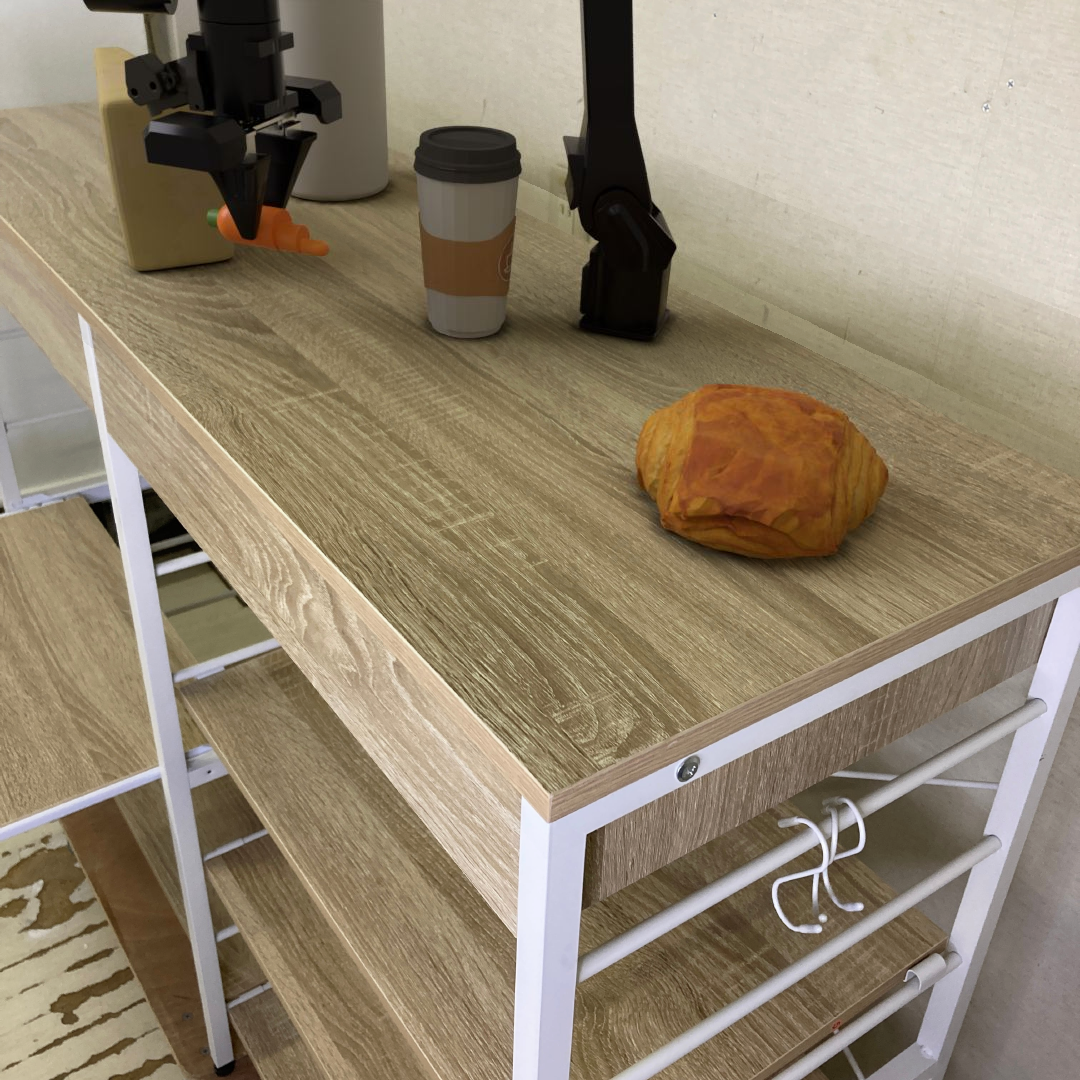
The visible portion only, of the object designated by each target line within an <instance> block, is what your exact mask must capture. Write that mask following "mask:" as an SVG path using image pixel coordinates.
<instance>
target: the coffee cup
mask: <svg viewBox="0 0 1080 1080" xmlns="http://www.w3.org/2000/svg"><path fill="white" fill-rule="evenodd" d="M418 141H419V142H418V146H417V147H416V148H415V149H414V152H413V153H414V162H413V165H412V168H413V170H414V171H415V175H416V186H417V187H416V188H417V197H418V213H417V214H418V225H419V234H420V247H421V258H422V259H421V260H422V273H423V284H424V286H423V287H424V288H425V297H426V310H427V319H428V320H429V322H430V323H431V326H432V328H433V329H434V330H435V331H436V332H438V333H440V334H443V335H445V336H448V337H454V338H457V339H458V338H460V339H477V338H484V337H485V338H486V337H489V336H490V335H494V334H495V333H497V332H498V331H500V329H501V328H502V325H503V323H504V322H505V320H506V314H507V313H506V312H507V304H508V303H507V302H508V301H507V300H508V294H509V290H510V283H511V273H512V264H513V263H512V262H513V253H514V241H515V232H516V223H517V215H516V210H517V202H518V201H517V200H518V191H519V179H520V175H522V171H523V168H522V163H521V160H522V153H521V152H520V149H518V147H517V146H518V145H517V138H516V137H515V135H514V134H512V133H510V132H508V131H505V130H502V129H498V128H494V127H488V126H479V125H447V126H444V125H443V126H438V127H432V128H430V129H427V130H424V131H423V132H421V133H420V135H419V140H418Z"/></svg>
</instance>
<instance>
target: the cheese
mask: <svg viewBox="0 0 1080 1080" xmlns="http://www.w3.org/2000/svg"><path fill="white" fill-rule="evenodd" d="M137 56H138V55H135V54H133V53H131V52H130V51H128V50H126V49H124V48H122V47H119V46H101V47H97V48H96V49H95V50H94V54H93V59H94V60H93V61H94V63H93V64H94V70H95V77H96V91H97V93H96V94H97V104H98V105H97V106H98V111H99V113H98V114H99V122H100V129H101V137H102V144H103V145H102V146H103V151H104V155H105V156H104V157H105V162H106V167H107V170H108V175H109V180H110V183H111V189H112V194H113V199H114V203H115V208H116V212H117V216H118V222H119V225H120V230H121V234H122V239H123V242H124V243H123V244H124V246H125V252H126V256H127V260H128V264H129V266H130V268H131V269H132V270H135V271H139V272H140V271H141V272H144V271H156V270H164V269H171V268H178V267H188V266H195V265H202V264H203V265H204V264H209V263H216V262H223V261H227V260H229V259H231V258H232V257H233V256H234V255H235V242H231V241H229V240H228V239H226V238H225V237H224V236H223V235H222V234H221V232H220V231H219V229H218V228H215V227H211V226H209V225H208V222H207V214H208V212H209V210H211V209H216V210H220V209H221V208H222V207H223V206H224V205H225V201H224V199H223V197H222V195H221V193H220V191H219V189H218V187H217V186H216V184H215V182H214V180H213V179H212V177H211V176H210V174H209V173H208V172H203V171H197V170H190V169H184V168H178V167H172V166H165V165H159V164H153V163H148V162H147V161H146V157H145V151H144V144H143V137H142V132H143V131H144V129H145V128H146V127H147V125H148V124H149V123H150V122H151V121H152V120H155V119H158V118H161V117H163V116H166V115H169V114H172V113H175V112H178V111H184V112H191V113H198V114H205V115H212V116H213V112H212V111H205V112H199V111H192V110H190V108H189V104H188V105H185V106H182V107H179V108H176V109H172V108H169V109H166V110H163V111H162V114H160V115H157V116H154V117H151V115H150V113H149V111H148V108H147V106H146V105H144V106H138V105H137V104H135V103H134V102H133V100H132V99H131V98H130V97H129V96H128V93H127V86H126V82H125V65H124V61H125V60H128V59H131V58H134V57H137Z"/></svg>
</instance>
